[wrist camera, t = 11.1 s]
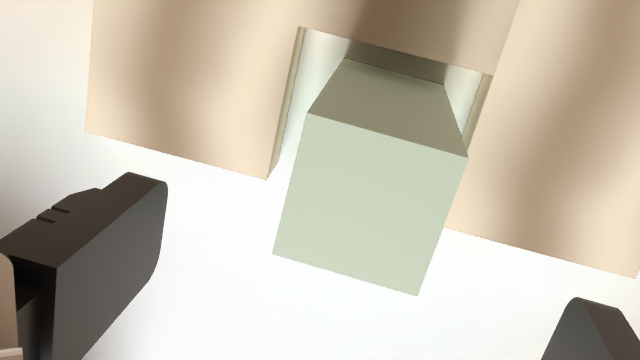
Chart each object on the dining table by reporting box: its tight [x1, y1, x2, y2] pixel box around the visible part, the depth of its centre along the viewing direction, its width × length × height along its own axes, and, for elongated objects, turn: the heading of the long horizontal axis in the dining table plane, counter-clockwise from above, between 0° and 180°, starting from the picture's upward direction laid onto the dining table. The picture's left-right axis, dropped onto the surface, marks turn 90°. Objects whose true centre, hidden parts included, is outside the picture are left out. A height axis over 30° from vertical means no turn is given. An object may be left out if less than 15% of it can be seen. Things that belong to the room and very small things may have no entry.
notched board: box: [85, 0, 640, 279], centre depth 20 cm, size 22×14×2 cm, turn 77°
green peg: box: [272, 58, 469, 296], centre depth 18 cm, size 4×4×9 cm
